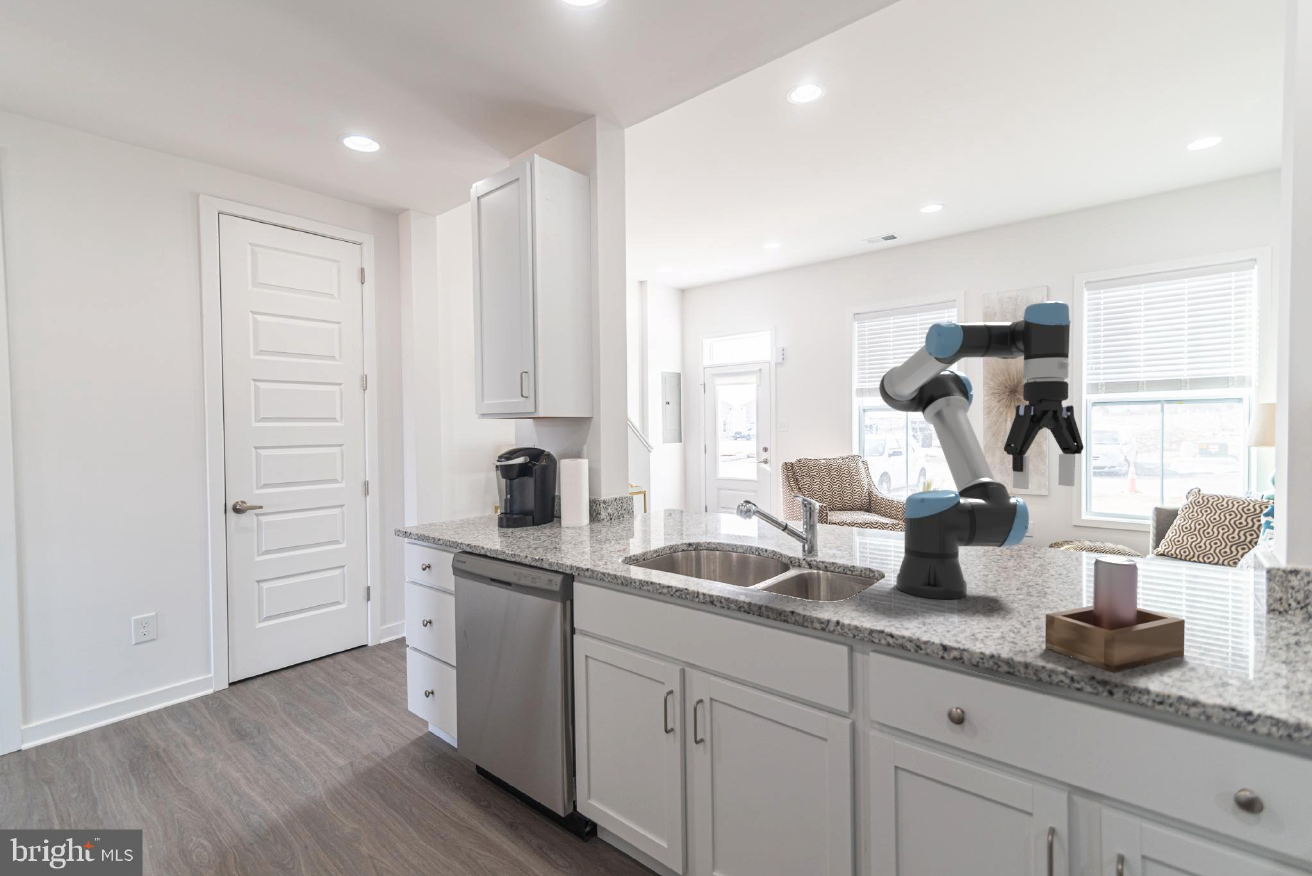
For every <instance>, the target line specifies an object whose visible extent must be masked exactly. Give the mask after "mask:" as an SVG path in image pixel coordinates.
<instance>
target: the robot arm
mask: <svg viewBox="0 0 1312 876" xmlns="http://www.w3.org/2000/svg"><path fill="white" fill-rule="evenodd" d="M1069 308H1070V307H1069V304H1068V303H1066V302H1064V301H1043V302H1036V303H1032V304H1030V305H1029V304H1028V305H1027V306H1026V307H1025V309H1024V314H1023V318H1022V320H1018V321H989V322H987V321H984V322H977V321H975V322H971V321H969V322H968V321H967V322H965V321H964V322H963V321H962V322H958V321H956V322H955V321H946V322H936V323H934V324H931V326H930V327H929V328H928V331H927V333H926V335H925V340H924V345H923V346H922V347H921V348H919V349H918V350H917V351H916V352H915V353H913V355H911V356H910V357H909V358H908V359H906V360H905V361H904V362H903V363H901V365H899V366H894V367H891V368H890V369H889V370H888V371H886V373H885V374H883V376H882V378H881V380H880V382H879V384H878V385H879V387H878V388H879V394H880V397H881V398H882V400H883V402H884V403H885V404H886V405H887V406H889V407H890V408H892V409H893V410H895V411H898V412H905V413H922V415H923V418H924V420H925V422H926V423H928V424H930V425H932V426H933V428H934V431H935V433H936V436H937V439H938V441H939V444H940V446H941V447H940V448H941V451H942V452H943V455H944V458H945V460H946V464H947V466H948V468H949V471H950V474H951V477H952V480H953V482H954V485H955V487H956V490H949V489H945V490H944V489H943V490H938V489H937V490H927V491H926V490H925V491H919V492H915V493H912V494H910V495H909V496H907V497H906V499H905V502H904V503H905V504H904V505H905V506H904V513H903V516H904V552H903V553H904V555H903V558H902V562H901V565H900V567H899V573H897V575H896V580H895V581H896V582H895V583H896V584H895V585H896V588H897V590H899V591H900V592H901V591H902V592H904V593H905V594H909V595H912V596H916V597H921V598H922V597H923V598H929V599H936V600H937V599H938V600H939V599H940V600H942V599H943V600H952V599H954V600H955V599H960V598H964V597H966V596H967V595H968V590H967V589H968V588H967V587H968V586H967V582H966V581H965V579H964V575H963V574H964V573H963V569H962V567H961V563H960V561H959V552H960V549H959V547H984V548H985V547H988V548H989V547H992V548H993V547H996V548H1003V547H1015V546H1017V545H1019V544H1020V543H1022V542H1023V540H1024V539H1025V538H1026V535H1027V533H1028V530H1029V524H1030V512H1029V509H1028V506H1027V504H1026V502H1025V500H1024V499H1023V498H1021V497H1018V496H1016V495H1012V496H1010V494H1009V491H1008V489H1007V488H1006V486H1005V484H1003V483H1002V482H1001V481H997V480H996V479H995V477H994V475H993V472H992V470H991V468H990V466H989V463H988V461H987V459H986V456H985V454H984V452H983V449H982V447H981V445H980V443H979V440H978V437H977V435H976V433H975V431H974V429H973V426H972V423H971V422H970V419H969V416H968V414H967V413H968V412H969V410H970V407H971V405H972V404H973V403H972V402H973V398H974V393H973V392H972V391H973V390H974V389H973V385H972V383H971V381H970V378H969V377H968V376H967V375H966V374H965V373H964V372H961V371H957V370H951V369H949V368H950V367H952V366H953V365H955V364H956V363H957V362H958V361H960V360H962V359H964V358H997V359H1000V360H1008V359H1009V360H1010V359H1011V360H1014V359H1017V358H1020V357H1023V370H1022V371H1023V372H1022V375H1023V376H1022V379H1023V380H1024V381H1026V382H1025V383H1024V384H1023V391H1022V393H1023V394H1022V395H1023V396H1022V397H1023V401H1024V402H1028V404H1017V405H1016V407H1015V414H1014V415H1015V416H1014V419H1013V421H1012V425H1011V427H1010V429H1009V432H1008V435H1007V439H1006V441H1005V442H1004V443H1005V444H1004V447H1003V451H1004V452H1006V454H1007V455H1010V456H1012V458H1011V459H1012V462H1011V463H1012V464H1011V465H1012V467H1011V469H1012V488H1013V489H1020V490H1029V488H1030V487H1029V486H1030V485H1029V484H1030V483H1029V482H1030V481H1029V480H1030V455H1026V454H1027V452H1028V451H1029V449H1030V447H1031V446H1032V444H1033V442H1034V441H1035V439H1036V437H1037V435H1038V434H1039V432H1040V431H1041V430H1044V429H1045V428H1046V429H1047V430H1049V431H1050V433H1051V434H1052V436H1053V437H1054V440H1055V441H1056V443H1057V445H1058V447H1059V449H1060V450H1061V452H1062V453H1058V486H1062V487H1063V486H1064V487H1075V477H1076V476H1075V474H1076V455H1081V453H1082V451H1083V450H1084V449H1085V448H1084V447H1085V446H1084V444H1083V440H1082V437H1081V433H1080V430H1079V427H1078V424H1077V421H1076V418H1075V411H1074V405H1071V404H1068V405H1063V404H1062V403H1063V401H1066V400H1067V401H1068V399H1069V382H1068V381H1065V380H1066V379H1069V366H1070V364H1069V353H1070V333H1071V332H1070V329H1071V327H1070V326H1071V320H1070V309H1069Z"/></svg>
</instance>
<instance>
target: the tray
mask: <svg viewBox="0 0 1312 876" xmlns="http://www.w3.org/2000/svg"><path fill="white" fill-rule="evenodd" d="M1185 622H1186V620H1185V619H1184V618H1179V617H1175V616H1172V615H1168V614H1164V613H1159V612H1156V611H1153V610H1148V609H1144V608H1141V607H1137V625H1135V626H1130V627H1125V628H1121V629H1116V630H1111V631H1110V630H1107V629H1103V628H1100V627H1096V626H1093V605H1088V606H1083V607H1082V606H1081V607H1077V608H1072V609H1066V610H1062V611H1056V612H1050V613H1047V614H1046V613H1045V638H1044V639H1045V640H1044V641H1045V642H1044V643H1045V644H1044V645H1045V646H1044V647H1045V649H1047V650H1049V649H1051V650H1050V651H1052V650H1053V652H1055V651H1057V652H1056V653H1059V654H1061V653H1062V654H1061V655H1064V656H1066V655H1068V656H1067V657H1069V656H1072V657H1073V659H1075V658H1077V659H1076V660H1078V659H1079V661H1080V660H1083V661H1084V663H1086V662H1087V663H1086V664H1089V665H1091V666H1094V665H1095V667H1097V668H1099V669H1102V670H1106V671H1108V672H1111V673H1117V672H1121V671H1125V670H1129V669H1133V668H1137V667H1140V666H1141V667H1142V666H1145V665H1149V664H1152V662H1153V663H1156V662H1161V661H1164V660H1168V658H1169V659H1171V658H1176V657H1180V656H1183V655H1185V627H1186V626H1185V625H1186V623H1185ZM1072 657H1071V658H1072ZM1160 660H1161V661H1160ZM1083 661H1082V662H1083Z"/></svg>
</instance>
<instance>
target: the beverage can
mask: <svg viewBox="0 0 1312 876" xmlns="http://www.w3.org/2000/svg"><path fill="white" fill-rule="evenodd" d="M1094 559H1095V560H1094V563H1093V595H1092V596H1093V598H1092V600H1093V601H1092V606H1093V626H1096V627H1100V628H1103V629H1107V630H1110V631H1111V630H1116V629H1121V628H1125V627H1130V626H1135V625H1137V608H1138V576H1139V575H1138V574H1139V572H1138V571H1139V568H1138V566H1137V561H1136V560H1134V559H1131V558H1127V557H1121V556H1113V555H1098V556H1096V557H1095V558H1094Z"/></svg>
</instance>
